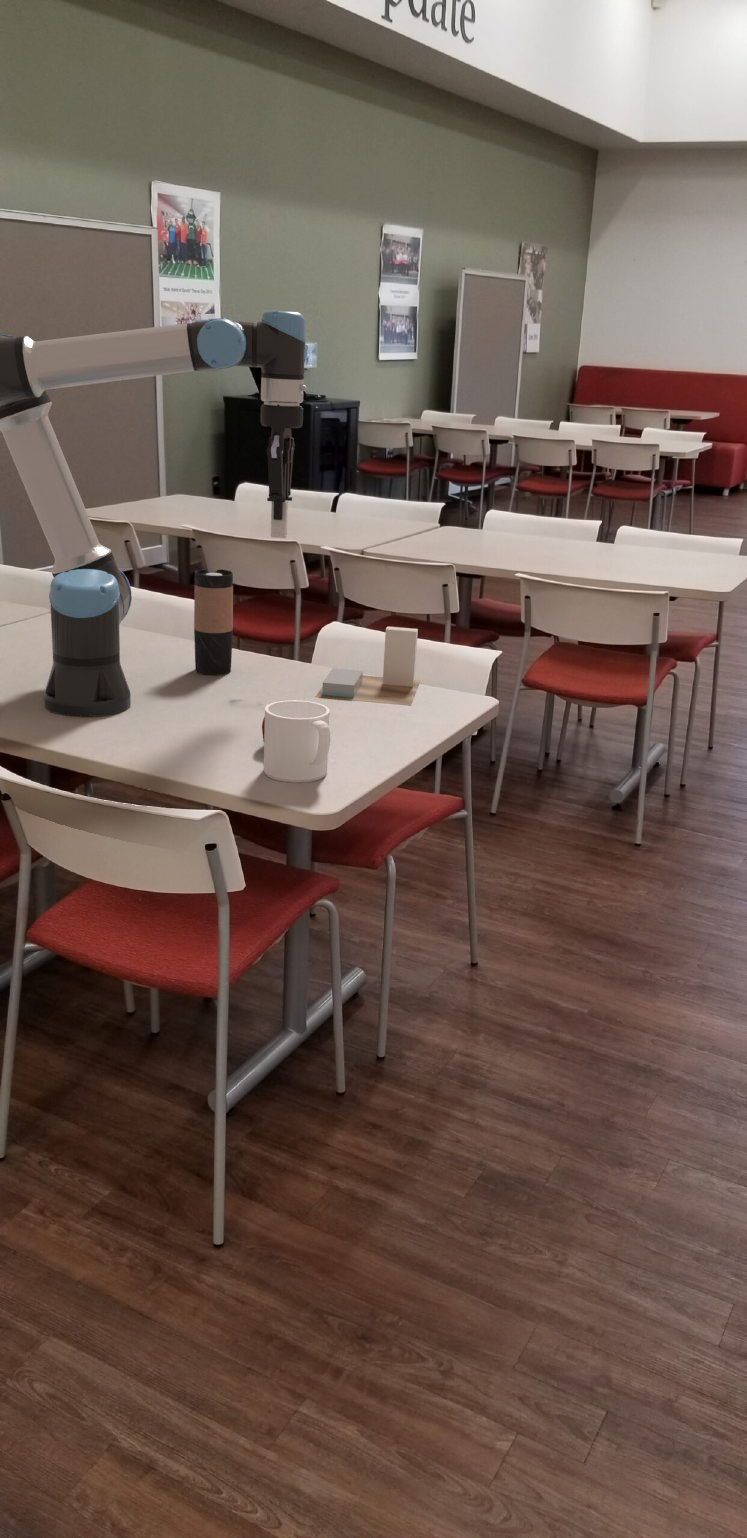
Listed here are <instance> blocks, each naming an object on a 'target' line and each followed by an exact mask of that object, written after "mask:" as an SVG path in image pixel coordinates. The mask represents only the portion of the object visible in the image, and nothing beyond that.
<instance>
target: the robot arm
mask: <svg viewBox="0 0 747 1538" xmlns="http://www.w3.org/2000/svg"><path fill="white" fill-rule="evenodd" d="M305 356H306V319H305V317H304V315H303V314H302V313H300V312H297V311H285V310H283V311H282V310H264V311H263V313H262V318H261V321H253V322H252V321H241V320H231V319H228V318H225V317H222V318H209V319H206V318H205V319H203V318H202V319H197V320H195V321H193V322H190V323H178V324H170V325H162V326H153V327H144V328H137V329H135V328H134V329H128V330H122V331H113V332H104V333H95V334H89V335H88V334H86V335H80V336H79V335H78V336H71V337H63V338H62V337H61V338H55V339H46V340H37V341H36V340H33V339H32V338H30V336H28V335H24V336H14V335H9V334H5V333H4V334H0V432H1V434H2V437H3V439H4V441H5V443H6V446H7V448H8V451H9V453H10V455H11V458H12V461H13V462H14V463H13V464H14V466H15V467H16V470H17V472H18V474H19V477H20V479H21V482H22V484H23V486H24V489H25V492H26V494H27V496H28V499H29V501H30V503H31V505H32V508H33V511H34V513H35V515H36V517H37V520H38V522H39V524H40V527H41V529H42V532H43V534H44V536H45V538H46V541H47V543H48V546H49V549H50V550H51V552H52V555H53V557H54V564H53V566H52V567H51V571H50V572H51V574H52V576H53V579H51V582H50V586H49V587H50V589H49V592H48V593H49V595H48V600H49V603H50V619H51V620H50V621H51V642H52V643H51V645H52V647H51V648H52V666H51V669H50V672H49V677H48V679H47V683H46V685H45V686H46V687H45V689H44V693H43V694H44V695H43V698H44V699H43V701H44V702H43V703H44V708H45V709H46V710H48V711H50V712H52V713H54V714H58V715H63V716H71V717H100V716H101V717H102V716H108V715H114V714H118V713H121V712H123V711H125V710H127V709H128V708H130V707H131V704H132V703H131V702H132V701H131V696H132V694H131V690H130V688H129V685H128V681H127V678H126V676H125V673H124V671H123V668H122V665H121V653H120V652H121V651H120V650H121V649H120V644H121V643H120V624H121V622H122V621H123V620H124V619H125V618H126V616H127V615H128V613H129V611H130V608H131V604H132V587H131V584H130V582H129V579H128V578H127V576H126V575H125V573H124V572H123V571H122V570H121V569H120V568H119V566H118V564H117V561H116V559H115V556H114V555H113V552H112V549H111V548H108V547H106V546H104V545H102V544H101V543H100V541H99V539H98V536H97V534H96V532H95V529H94V526H93V524H92V522H91V520H90V517H89V514H88V512H87V510H86V507H85V504H84V502H83V500H82V497H81V495H80V492H79V490H78V487H77V484H76V483H75V482H76V481H75V480H74V477H73V475H72V472H71V470H70V467H69V465H68V462H67V460H66V457H65V455H64V453H63V449H62V448H61V446H60V443H59V442H60V441H58V438H57V435H56V433H55V430H54V427H53V426H52V423H51V421H50V417H49V412H50V410H51V407H52V405H53V402H52V399H51V398H50V394H49V392H48V390H54V389H63V388H69V387H80V386H85V385H86V386H88V385H93V384H94V385H95V384H102V383H110V382H117V381H118V382H119V381H124V380H125V381H126V380H134V379H135V380H136V379H143V378H151V377H157V376H158V377H159V376H166V375H175V374H180V373H189V372H196V371H198V372H199V371H208V370H215V369H216V370H217V369H218V370H225V369H230V368H233V367H243V368H244V367H247V368H248V367H249V368H261V378H260V379H261V382H260V383H261V384H260V400H261V401H262V402H263V404H261V405H260V424H261V426H263V427H266V428H267V427H270V428H271V432H270V433H271V434H270V435H271V436H270V437H268V441H267V446H266V453H267V454H266V455H267V469H268V470H267V471H268V472H267V473H268V477H267V478H268V496H267V498H266V500H267V502H271V508H270V509H271V511H270V512H271V513H270V515H271V516H270V517H271V518H270V538H274V539H275V538H277V539H278V538H279V539H287V537H288V512H289V511H288V509H289V507H288V505H289V502H292V501H293V497H292V496H291V494H292V492H291V489H292V488H291V486H292V473H293V466H294V465H293V462H294V451H295V447H296V444H295V438H294V437H292V435H293V434H292V429H300V428H302V427H303V423H304V422H303V421H304V408H303V406H301V405H300V404H301V403H303V402H304V392H306V391H307V390H308V388H307V385H305V384H304V383H305V382H304V378H305V360H306V358H305Z"/></svg>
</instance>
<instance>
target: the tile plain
mask: <svg viewBox="0 0 747 1538" xmlns="http://www.w3.org/2000/svg"><path fill="white" fill-rule="evenodd" d="M418 631H419V629H418V628H410V627H399V626H387V627H386V628H385V634H384V635H385V636H384V650H383V651H384V654H383V671H382V672H383V674H382V677H383V684H387V685H398V686H410V687H413V686H414V681H415V680H416V664H417V662H416V661H417V648H418V647H417V646H418V634H419V633H418Z"/></svg>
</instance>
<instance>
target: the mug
mask: <svg viewBox="0 0 747 1538" xmlns="http://www.w3.org/2000/svg"><path fill="white" fill-rule="evenodd" d="M330 711H331V709H330V708H329V707H328V706H326V705H324V704H322V703H319V702H314V701H309V700H298V699H297V700H295V699H294V700H290V699H289V700H288V699H287V700H282V701H281V700H280V701H274V702H271V703H269V704H267V705H266V706H265V708H264V717H265V729H264V741H263V772H264V774H265V775H266V776H267V777H269V778H270V779H273V780H275V781H279V782H284V783H289V784H290V783H293V784H294V783H296V784H298V783H299V784H303V783H311V782H315V781H319V780H322V779H323V778H324V777H326V775H327V774H328V761H329V760H328V758H329V757H328V756H329V752H330V746H331V729H330Z"/></svg>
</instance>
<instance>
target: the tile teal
mask: <svg viewBox="0 0 747 1538" xmlns="http://www.w3.org/2000/svg"><path fill="white" fill-rule="evenodd" d="M363 674H364V670H361V669H360V670H359V669H357V670H356V669H348V668H337V667H336V668H335V667H332V668H331V670H330V671H329V673H328V675H327V676H326V677H325V678H324V680H323V682H322V686H323V687H321V688H322V695H329V696H340V697H352V698H354V696H355V694H356V693H357V691H358V689H359V688H360V686H361V684H362V680H363Z"/></svg>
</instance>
